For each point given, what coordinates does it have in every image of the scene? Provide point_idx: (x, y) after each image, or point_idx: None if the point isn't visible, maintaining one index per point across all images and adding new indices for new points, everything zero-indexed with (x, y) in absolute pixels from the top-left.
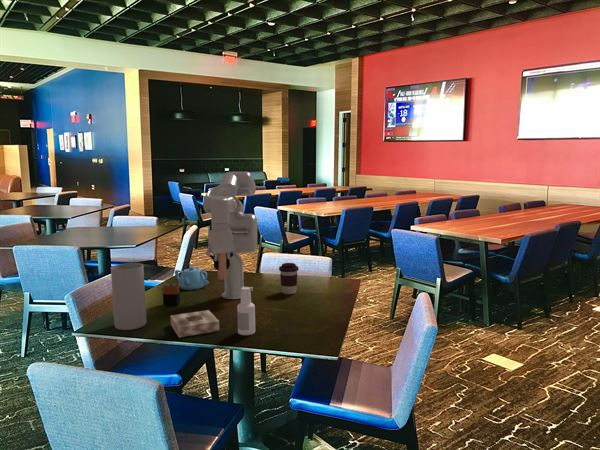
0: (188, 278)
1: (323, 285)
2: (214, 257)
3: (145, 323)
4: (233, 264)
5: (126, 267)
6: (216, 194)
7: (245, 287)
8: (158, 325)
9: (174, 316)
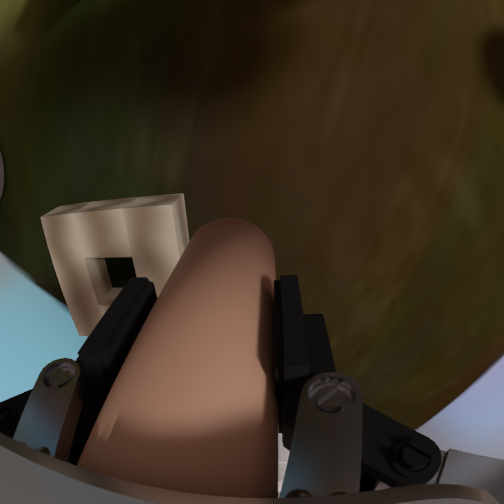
0: None
1: None
2: (75, 458)
3: (2, 186)
4: None
5: None
6: None
7: (280, 484)
8: (31, 195)
9: (52, 232)
